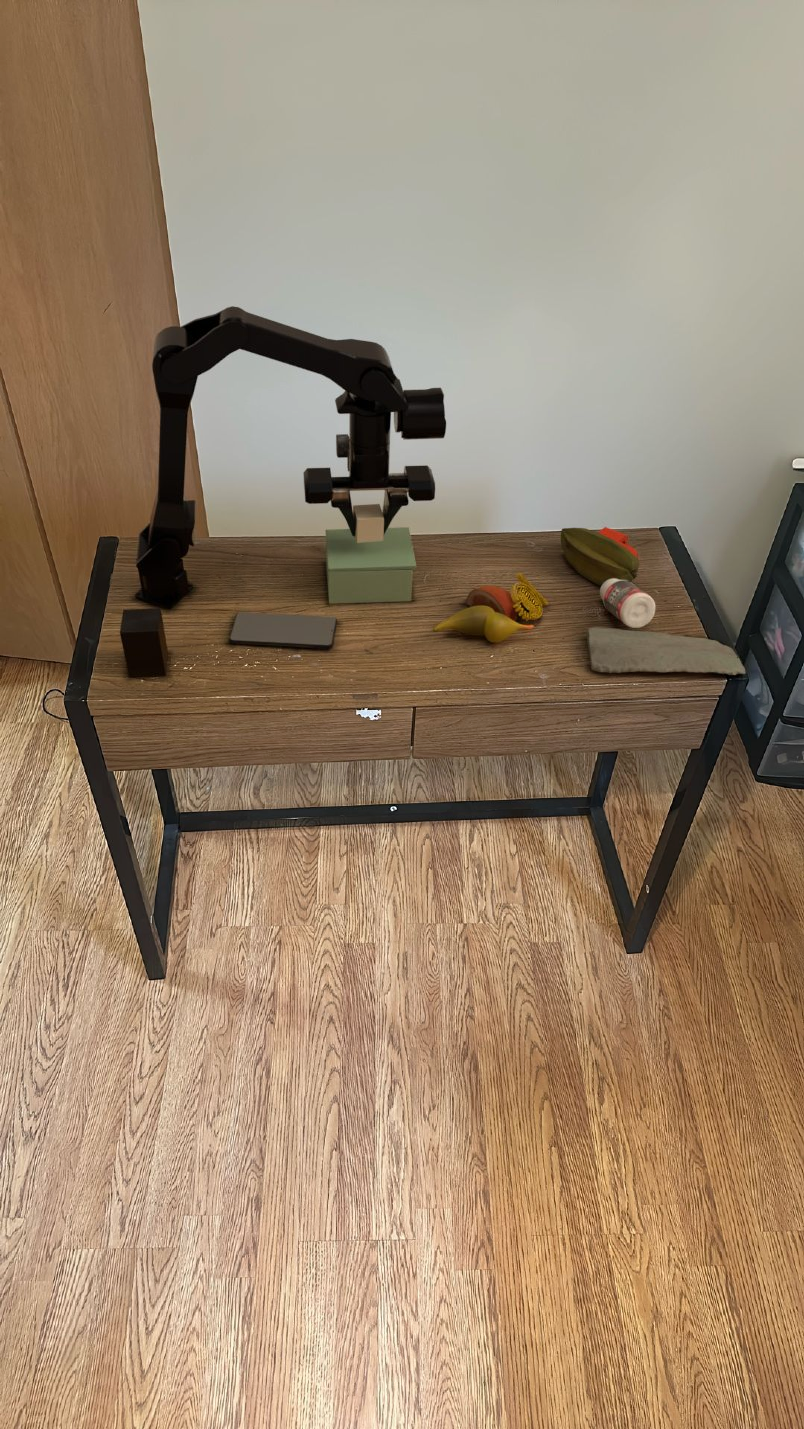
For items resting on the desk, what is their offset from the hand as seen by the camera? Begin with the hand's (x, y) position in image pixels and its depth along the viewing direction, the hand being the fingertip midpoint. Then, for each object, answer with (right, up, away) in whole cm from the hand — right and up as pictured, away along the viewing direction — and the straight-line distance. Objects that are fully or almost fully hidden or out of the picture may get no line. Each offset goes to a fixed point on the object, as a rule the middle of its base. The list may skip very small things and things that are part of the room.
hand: (368, 534), depth 146 cm
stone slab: (+43, -15, -1) cm, 46 cm away
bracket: (+38, -1, +12) cm, 39 cm away
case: (0, -6, +6) cm, 9 cm away
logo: (+25, -8, +3) cm, 26 cm away
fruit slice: (+20, -8, 0) cm, 22 cm away
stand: (-30, -20, -10) cm, 38 cm away
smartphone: (-12, -15, -4) cm, 20 cm away
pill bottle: (+40, -12, -5) cm, 42 cm away
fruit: (+39, -1, +10) cm, 40 cm away
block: (0, 0, 0) cm, 0 cm away
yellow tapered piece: (+16, -12, -2) cm, 20 cm away
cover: (0, -2, +2) cm, 3 cm away
